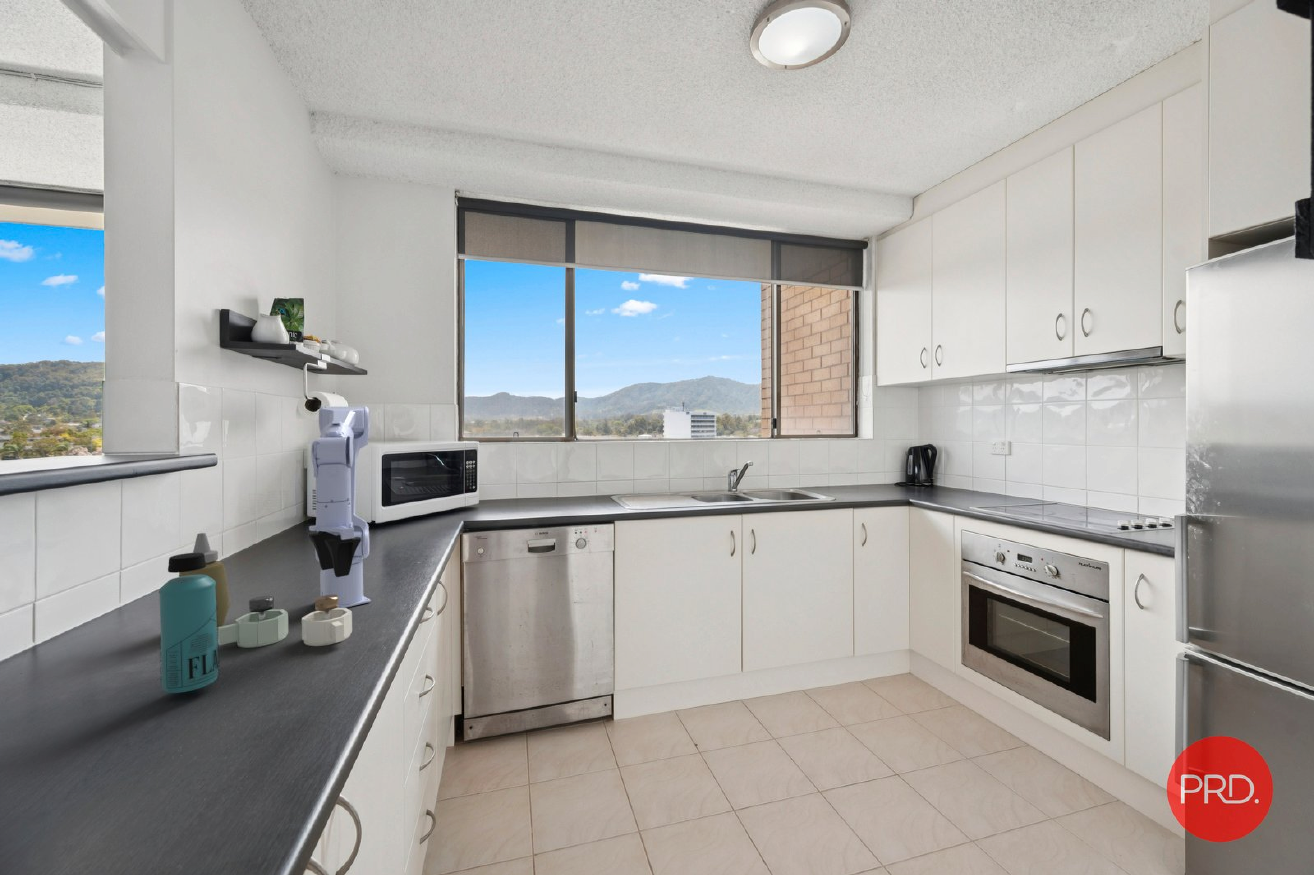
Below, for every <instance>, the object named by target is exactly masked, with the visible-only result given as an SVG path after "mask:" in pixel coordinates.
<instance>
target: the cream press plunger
mask: <svg viewBox="0 0 1314 875" xmlns="http://www.w3.org/2000/svg"><path fill="white" fill-rule="evenodd" d="M338 606H339V599H338V595H324V596H321V595H320V596H317V597H316V598H314V608H315V609H314V610H315V612H316V611H324V620H329V619H330V610H332V609H335V608H337V607H338Z"/></svg>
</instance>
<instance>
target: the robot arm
mask: <svg viewBox="0 0 1314 875" xmlns="http://www.w3.org/2000/svg"><path fill="white" fill-rule="evenodd" d="M370 419H371V418H370V409H369V407H367V406H366V405H364V406H326V405H321V407H319V410H318V426H319V427H318V428H319V432H320V435H319V437H317V439H316V440H312V443H311V448H310V449H311V450H310V453H311V454H310V455H311V456H310V457H311V462H312V467H313V477H314V478H315V508H316V509H315V510H316V511H315V513H316V518H315V519H316V520H315V525H310V526H308V529H309V531H311V532H315V531H316V533H310V534H308V538H309V539H310V541H311V542H312V543H313V545H314V546H313V547H314V553H315V554H314V555H315V560H316V561H318V563H319V566H320V568H321V569H320V572H319V579H320V580H319V582H320V585H319V586H320V596H324V595H338V599H339V606H338V607H337V608H350V607H354V606H358V605H362V604H366V603H370V602H372V601H371V599H370V598H368V597H366V596H364V576H363V575H364V573H363V572H364V569H363V568H364V566H363V565H364V564H363V561H364V559H367V557H368V556H369V555H370V531H369V528H370V526H369V524H368V523H367V521H366V520H364V519H363V518H361V517H359V516H357V515H356V500H357V498H356V496H357V494H356V493H357V492H356V490H357V463H358V462H357V461H358V456H359V453H360V450H361V449H362V448H364V447H366V446H367V445H368V444H369V440H370V427H371V422H370Z"/></svg>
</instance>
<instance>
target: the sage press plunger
mask: <svg viewBox="0 0 1314 875" xmlns="http://www.w3.org/2000/svg"><path fill="white" fill-rule="evenodd" d="M248 604H249V608H248V610H249V612H250V613H253V612H259V622H260V621H264V620H265V611H267V610H274V609H275V596H273V595H264V596H263V595H261V596H257V597H256V596H255V597H253V598H250V600H248Z"/></svg>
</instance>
